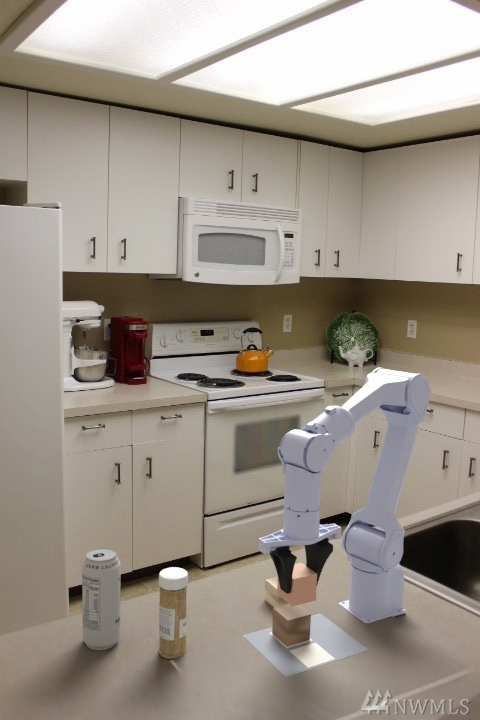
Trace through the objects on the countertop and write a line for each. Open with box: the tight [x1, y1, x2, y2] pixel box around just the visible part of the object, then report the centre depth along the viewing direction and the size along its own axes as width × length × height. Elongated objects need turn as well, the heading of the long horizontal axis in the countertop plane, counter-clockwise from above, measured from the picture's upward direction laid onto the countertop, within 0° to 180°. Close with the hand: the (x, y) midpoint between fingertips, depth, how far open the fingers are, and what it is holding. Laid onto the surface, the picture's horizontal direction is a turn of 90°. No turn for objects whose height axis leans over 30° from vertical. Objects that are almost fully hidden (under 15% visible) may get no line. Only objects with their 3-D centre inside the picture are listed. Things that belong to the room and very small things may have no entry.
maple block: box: [264, 576, 289, 608], centre depth 123 cm, size 4×4×4 cm
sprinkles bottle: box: [158, 566, 189, 660], centre depth 106 cm, size 5×5×13 cm
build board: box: [242, 613, 369, 678], centre depth 110 cm, size 16×13×1 cm
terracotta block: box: [277, 562, 318, 606], centre depth 108 cm, size 4×4×4 cm
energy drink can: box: [81, 547, 122, 651], centre depth 108 cm, size 6×6×15 cm
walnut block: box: [271, 604, 312, 647], centre depth 111 cm, size 4×4×4 cm
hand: (298, 587), depth 107 cm, fingers closed on terracotta block, 4 cm apart
